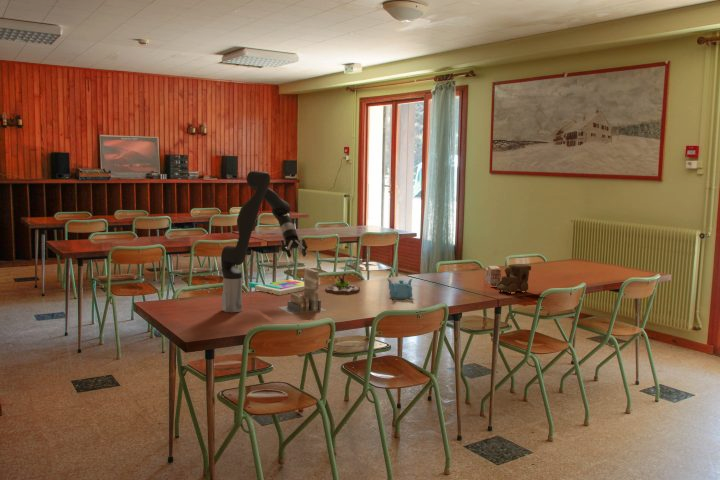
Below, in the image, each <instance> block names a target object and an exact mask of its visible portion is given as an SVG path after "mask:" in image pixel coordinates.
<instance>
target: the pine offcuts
mask: <svg viewBox="0 0 720 480" xmlns="http://www.w3.org/2000/svg"><path fill="white" fill-rule="evenodd" d="M290 302H292V303H294V304H296V305H298V306H300V312H303V311H309V298H307V297H305V296H304V294H303V295H302V294H301V293H299V294H298V293H297V294H296V293H295V292H294V293H290Z"/></svg>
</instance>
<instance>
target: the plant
mask: <svg viewBox="0 0 720 480" xmlns="http://www.w3.org/2000/svg"><path fill="white" fill-rule="evenodd" d="M345 276H346V277H349V273H347V272H346V273H344V274H343V275H342V277H341V276H340V275H335V276H334V279H337V277H338V279H337V280H336V281H334V283H335V284H330V285H328V286H326V287H325V289H324V291H325V293H328V294H334V295H346V296H347V295H349V294H350V295H356V294H358V293H360V290H361V287H360V286H357V285H354V284H351V281H350V280H349V281H346V280H345ZM350 295H349V296H350Z"/></svg>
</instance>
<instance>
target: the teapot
mask: <svg viewBox="0 0 720 480" xmlns="http://www.w3.org/2000/svg"><path fill="white" fill-rule="evenodd" d="M386 280H387V281H388V290H389V296H390V297H391V298H392V299H395V300H408V299H410V298H413V295H414V294H413V286H412V281H413V278H411V279H409V280H408V282H405V281H404V280H403V279H399V280H398V281H395V282H394V283H392V280H391V279H390V278H386Z"/></svg>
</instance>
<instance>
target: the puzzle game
mask: <svg viewBox="0 0 720 480" xmlns="http://www.w3.org/2000/svg"><path fill="white" fill-rule="evenodd" d="M248 287H249V288H253V289H254V290H255V291H258V292H264V293H267V292H269V293H268V294H272V293H273V294H272V295H277V296H283V295H288V293H289V294H292V293H294V294H295V293H298V292H299V293H300V292H303V291H302V290H304V280H303V281H302V280H297V279H292V278H290V279H286V280H285V279H284V280H279V281H273V282H270V283H269V284H263V283H259V282H256V281H255V282H253V281H252V282H248ZM266 290H272V291H266Z"/></svg>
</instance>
